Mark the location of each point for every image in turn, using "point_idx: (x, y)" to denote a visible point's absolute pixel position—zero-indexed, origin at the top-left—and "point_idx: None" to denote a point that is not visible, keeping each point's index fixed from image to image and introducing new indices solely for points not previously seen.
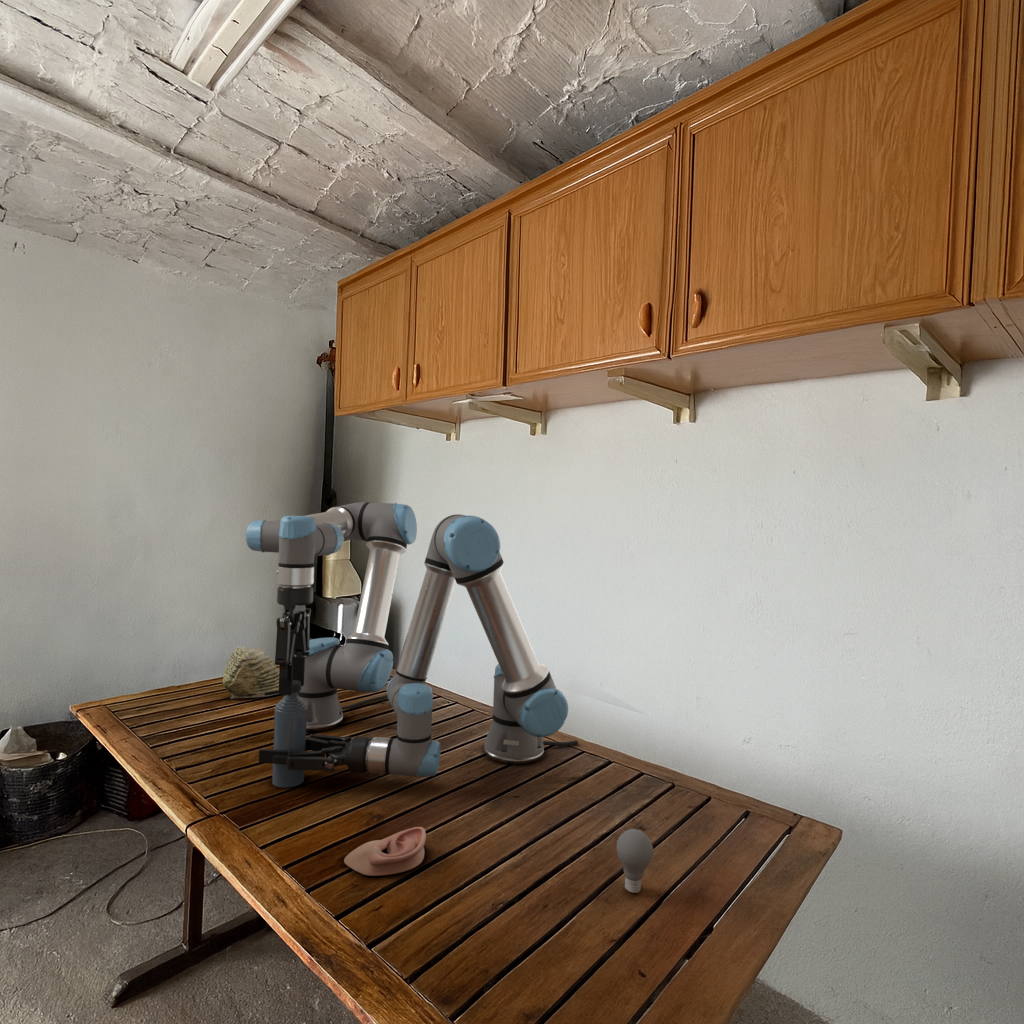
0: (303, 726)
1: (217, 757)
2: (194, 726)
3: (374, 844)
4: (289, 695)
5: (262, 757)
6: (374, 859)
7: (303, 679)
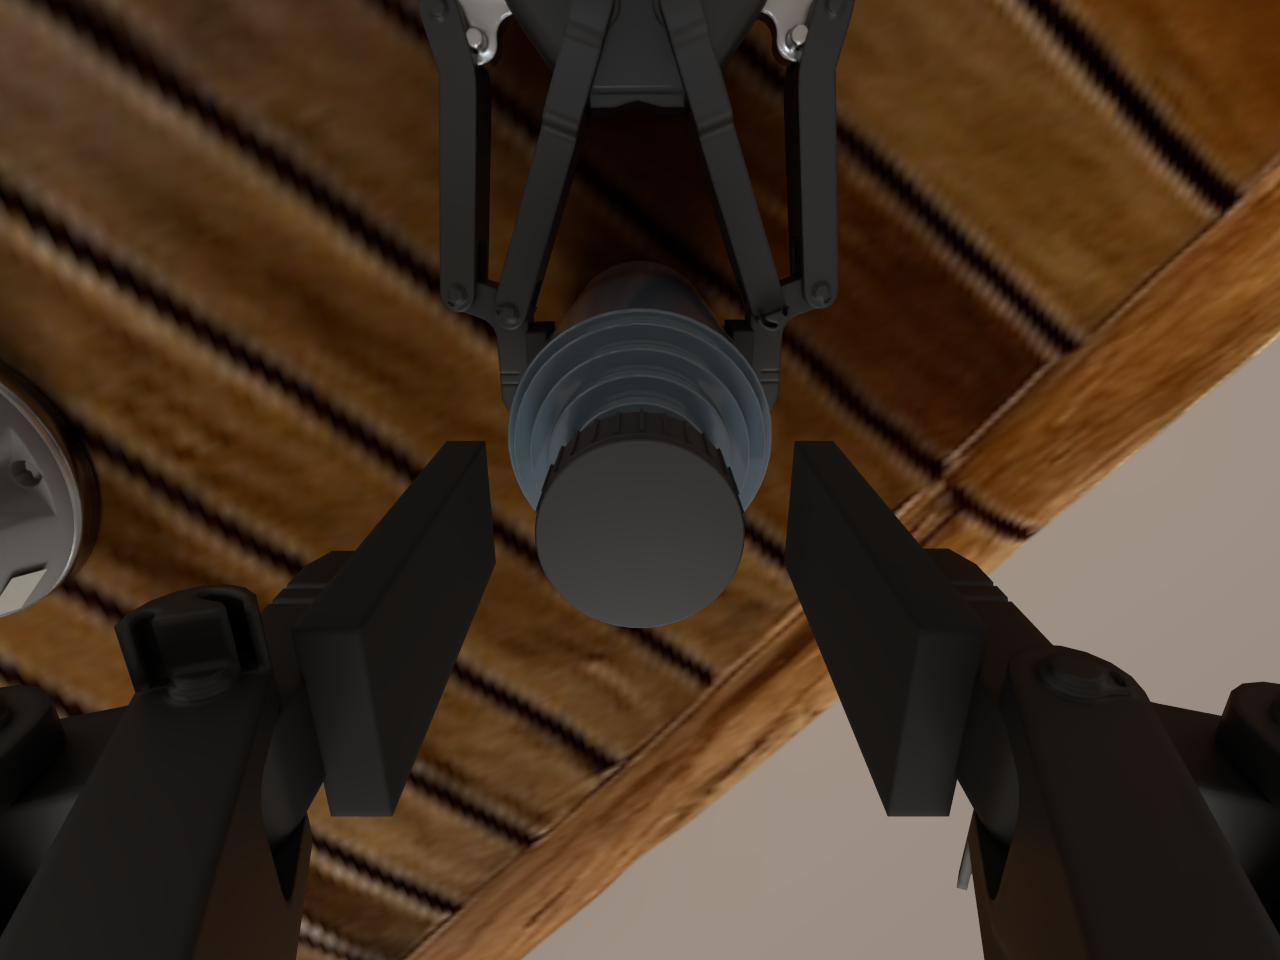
0: (669, 294)
1: (477, 694)
2: None
3: None
4: None
5: None
6: None
7: (452, 466)
